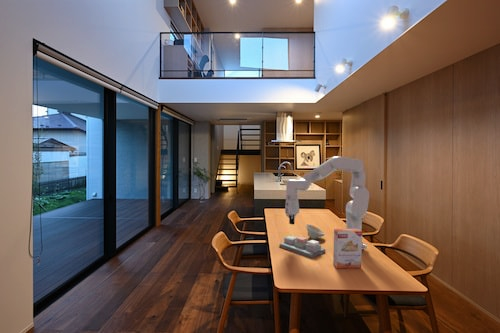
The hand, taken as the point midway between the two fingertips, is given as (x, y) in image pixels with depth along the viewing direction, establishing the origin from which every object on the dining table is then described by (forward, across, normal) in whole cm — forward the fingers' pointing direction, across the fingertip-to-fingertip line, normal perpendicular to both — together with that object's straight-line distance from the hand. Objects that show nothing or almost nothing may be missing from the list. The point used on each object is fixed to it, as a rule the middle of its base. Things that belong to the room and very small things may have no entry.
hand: (291, 223), depth 176 cm
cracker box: (+16, -3, -42) cm, 45 cm away
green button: (+12, 0, 0) cm, 13 cm away
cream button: (+11, 0, -18) cm, 21 cm away
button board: (+15, 0, -9) cm, 18 cm away
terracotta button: (+11, 0, -9) cm, 14 cm away
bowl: (+15, +24, -2) cm, 29 cm away
